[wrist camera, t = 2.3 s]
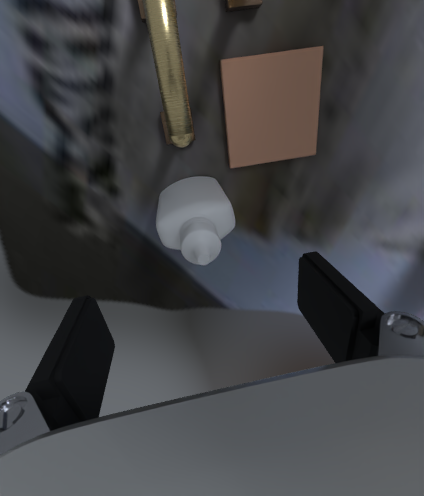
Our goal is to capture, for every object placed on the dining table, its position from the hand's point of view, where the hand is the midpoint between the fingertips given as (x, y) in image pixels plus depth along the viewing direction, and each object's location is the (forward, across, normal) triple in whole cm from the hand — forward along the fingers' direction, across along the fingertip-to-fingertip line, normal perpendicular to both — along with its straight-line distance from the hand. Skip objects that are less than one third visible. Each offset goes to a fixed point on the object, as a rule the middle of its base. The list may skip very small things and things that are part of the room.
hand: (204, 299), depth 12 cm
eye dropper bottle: (+15, -1, -1) cm, 15 cm away
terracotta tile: (+14, -9, -7) cm, 18 cm away
